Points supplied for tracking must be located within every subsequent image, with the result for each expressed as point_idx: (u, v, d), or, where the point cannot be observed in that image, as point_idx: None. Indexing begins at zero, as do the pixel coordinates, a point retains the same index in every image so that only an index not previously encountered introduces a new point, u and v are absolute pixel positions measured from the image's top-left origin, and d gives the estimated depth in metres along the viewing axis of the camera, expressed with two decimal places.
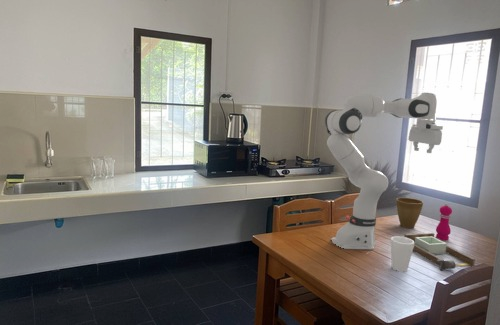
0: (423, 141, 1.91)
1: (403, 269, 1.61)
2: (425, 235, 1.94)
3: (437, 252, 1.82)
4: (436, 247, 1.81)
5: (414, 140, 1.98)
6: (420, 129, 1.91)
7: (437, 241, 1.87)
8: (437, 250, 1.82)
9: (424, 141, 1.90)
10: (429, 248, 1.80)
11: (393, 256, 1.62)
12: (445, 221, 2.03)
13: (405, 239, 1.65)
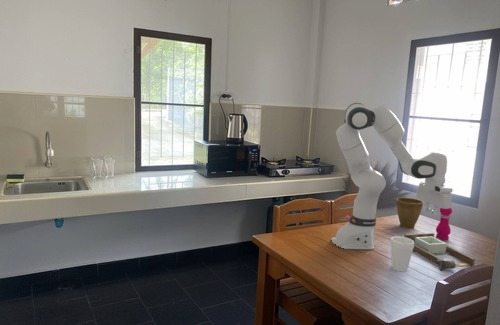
0: (432, 202, 1.83)
1: (403, 269, 1.61)
2: (425, 235, 1.94)
3: (437, 252, 1.82)
4: (436, 247, 1.81)
5: (422, 199, 1.89)
6: (429, 190, 1.83)
7: (437, 241, 1.87)
8: (437, 250, 1.82)
9: (433, 203, 1.82)
10: (429, 248, 1.80)
11: (393, 256, 1.62)
12: (445, 221, 2.03)
13: (405, 239, 1.65)
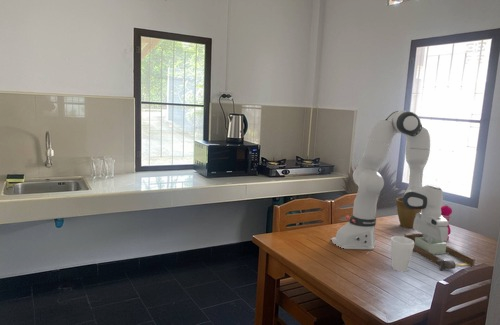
0: (428, 234, 1.85)
1: (403, 269, 1.61)
2: None
3: (437, 252, 1.82)
4: (436, 247, 1.81)
5: (419, 230, 1.92)
6: (425, 222, 1.86)
7: (437, 241, 1.87)
8: (437, 250, 1.82)
9: (430, 235, 1.85)
10: (429, 248, 1.80)
11: (393, 256, 1.62)
12: None
13: (405, 239, 1.65)
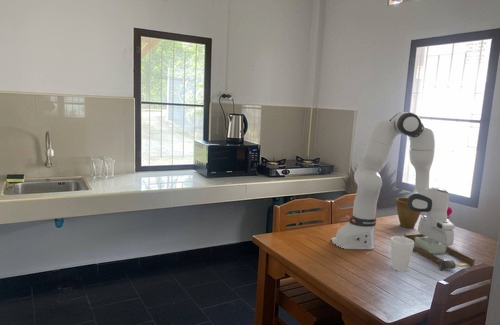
0: (434, 238, 1.81)
1: (403, 269, 1.61)
2: None
3: (437, 252, 1.82)
4: (436, 247, 1.81)
5: (424, 234, 1.88)
6: (430, 225, 1.82)
7: None
8: (437, 250, 1.82)
9: (435, 238, 1.81)
10: (429, 248, 1.80)
11: (393, 256, 1.62)
12: None
13: (405, 239, 1.65)
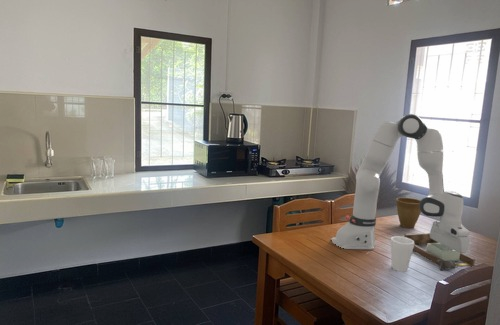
0: (447, 245, 1.73)
1: (403, 269, 1.61)
2: (425, 235, 1.94)
3: (450, 259, 1.74)
4: (449, 254, 1.73)
5: (436, 240, 1.80)
6: (444, 231, 1.73)
7: None
8: (451, 257, 1.73)
9: (448, 245, 1.72)
10: (442, 255, 1.72)
11: (393, 256, 1.62)
12: None
13: (405, 239, 1.65)
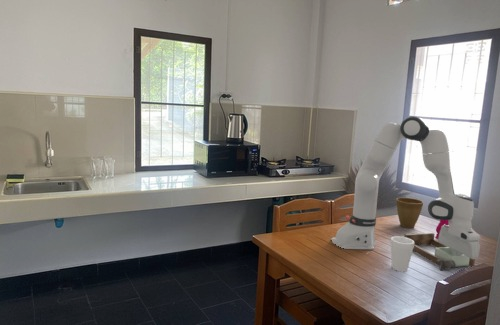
0: (457, 249, 1.68)
1: (403, 269, 1.61)
2: (425, 235, 1.94)
3: (460, 264, 1.68)
4: (459, 259, 1.68)
5: (445, 244, 1.74)
6: (453, 235, 1.68)
7: None
8: (460, 262, 1.68)
9: (458, 250, 1.67)
10: None
11: (393, 256, 1.62)
12: (445, 221, 2.03)
13: (405, 239, 1.65)
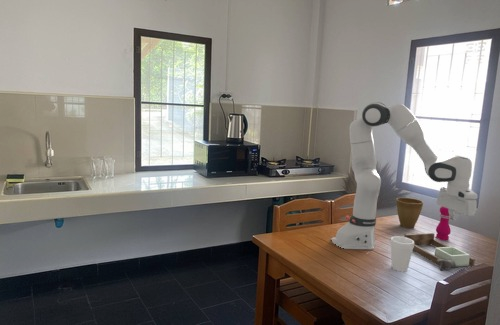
0: (454, 209, 1.72)
1: (403, 269, 1.61)
2: (425, 235, 1.94)
3: (460, 264, 1.68)
4: (458, 259, 1.68)
5: (443, 205, 1.78)
6: (451, 195, 1.72)
7: (459, 252, 1.74)
8: (460, 262, 1.68)
9: (455, 209, 1.71)
10: None
11: (393, 256, 1.62)
12: (445, 221, 2.03)
13: (405, 239, 1.65)
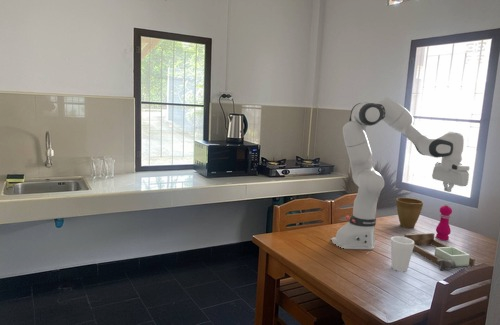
0: (448, 181, 1.87)
1: (403, 269, 1.61)
2: (425, 235, 1.94)
3: (460, 264, 1.68)
4: (458, 259, 1.68)
5: (438, 179, 1.93)
6: (445, 169, 1.87)
7: (459, 252, 1.74)
8: (460, 262, 1.68)
9: (450, 181, 1.86)
10: None
11: (393, 256, 1.62)
12: (445, 221, 2.03)
13: (405, 239, 1.65)
